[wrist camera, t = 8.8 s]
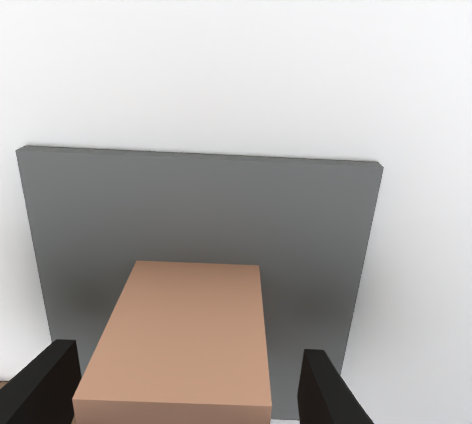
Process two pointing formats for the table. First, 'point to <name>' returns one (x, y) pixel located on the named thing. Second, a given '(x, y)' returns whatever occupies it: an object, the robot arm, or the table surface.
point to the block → (181, 350)
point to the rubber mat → (203, 239)
